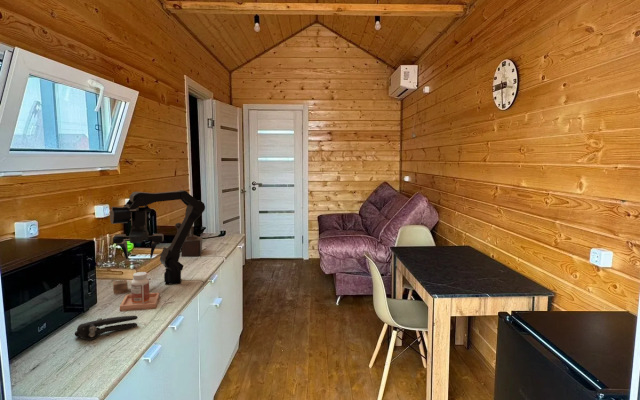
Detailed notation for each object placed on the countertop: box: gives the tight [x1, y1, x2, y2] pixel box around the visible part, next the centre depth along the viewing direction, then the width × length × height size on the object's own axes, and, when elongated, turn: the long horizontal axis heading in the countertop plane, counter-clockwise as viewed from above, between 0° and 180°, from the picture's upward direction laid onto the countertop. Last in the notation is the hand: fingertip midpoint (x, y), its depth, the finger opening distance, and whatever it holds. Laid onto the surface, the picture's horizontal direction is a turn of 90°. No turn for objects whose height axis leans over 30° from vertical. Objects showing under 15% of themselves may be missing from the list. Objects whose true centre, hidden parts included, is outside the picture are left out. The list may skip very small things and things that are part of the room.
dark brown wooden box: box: [174, 222, 203, 258], centre depth 219 cm, size 16×11×18 cm
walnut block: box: [112, 279, 129, 295], centre depth 157 cm, size 5×5×4 cm
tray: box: [119, 292, 160, 312], centre depth 145 cm, size 12×12×2 cm
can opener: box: [74, 315, 138, 341], centre depth 120 cm, size 18×7×6 cm, turn 133°
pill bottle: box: [130, 271, 150, 304], centre depth 144 cm, size 6×6×11 cm
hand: (139, 258), depth 160 cm, fingers open, 9 cm apart
